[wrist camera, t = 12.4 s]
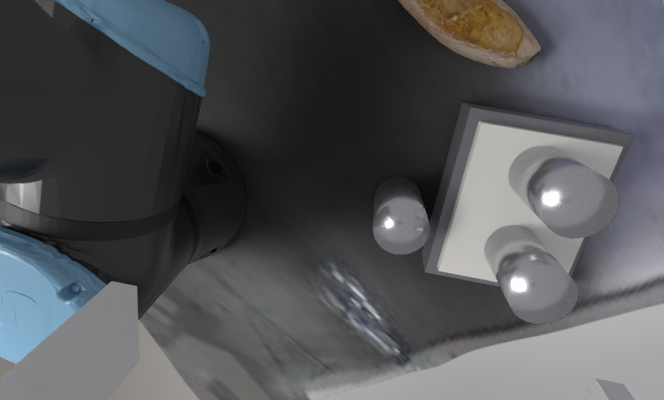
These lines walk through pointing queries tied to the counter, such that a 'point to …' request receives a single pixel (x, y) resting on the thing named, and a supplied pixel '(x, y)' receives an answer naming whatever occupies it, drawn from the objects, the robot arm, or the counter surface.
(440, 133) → the counter surface
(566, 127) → the scale
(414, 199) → the cylinder
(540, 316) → the cylinder
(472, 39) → the filled bread boat
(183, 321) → the counter surface
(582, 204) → the cylinder
